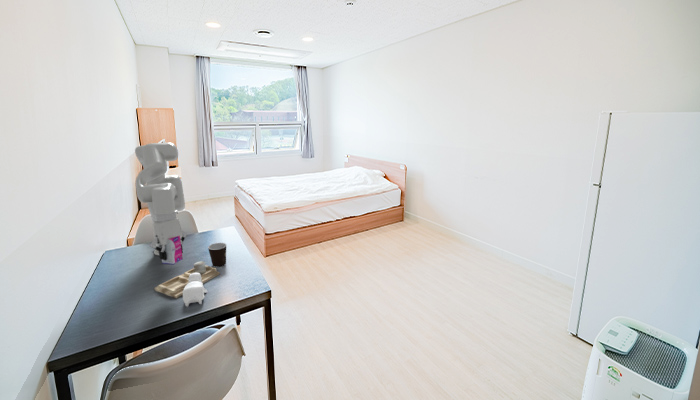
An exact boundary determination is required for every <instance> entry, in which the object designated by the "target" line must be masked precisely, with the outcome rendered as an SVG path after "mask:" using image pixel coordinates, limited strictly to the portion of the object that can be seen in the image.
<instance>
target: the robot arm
mask: <svg viewBox="0 0 700 400" xmlns="http://www.w3.org/2000/svg"><path fill="white" fill-rule="evenodd" d="M134 153H135V156H136V158H137V160H138V161H139V163H140V164H141V166H142V168H143V169H142V170H141V171H140V172H139V173H138V174H137V176H136V178H135V190H136V197H137V199H138V200H139V202H141V203H143V204H147V209H148V211H149V214H150V215H149V216H150V218H151V222H152V227H153V228H152V231H153V232H152V233H153V240H152V242H151V243H150V245H149V246H150V247H151V248H152V249H154V251H153V254H154V255H155V256H158V257H159V258H160V260H161V261H162V260H167V256H166V251H164V249H165V246H166V244H168V239H171V238H174V237H177V236H180V241H181V249H182V254H183V253H184V252H183V250H184V249H183V245H184V241H185V240H186V237H187V233H188V232H186V231H183V230H182V226H181V223H180V220H179V218H178V216H177V214H178V213H179V212H181V211H184V210H185V208H186V201H185V195H184V189H183V182H182V179H181V177H180V176H179V175H177V174H169V175H166V173H167V170H168V167H167V162H174V161H177V160H178V158H179V150H178V147H177V146H176V144H175V143H173V142H152V143H147V144H145V145H144V144H143V145H138V146H136V147H135V149H134Z"/></svg>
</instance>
